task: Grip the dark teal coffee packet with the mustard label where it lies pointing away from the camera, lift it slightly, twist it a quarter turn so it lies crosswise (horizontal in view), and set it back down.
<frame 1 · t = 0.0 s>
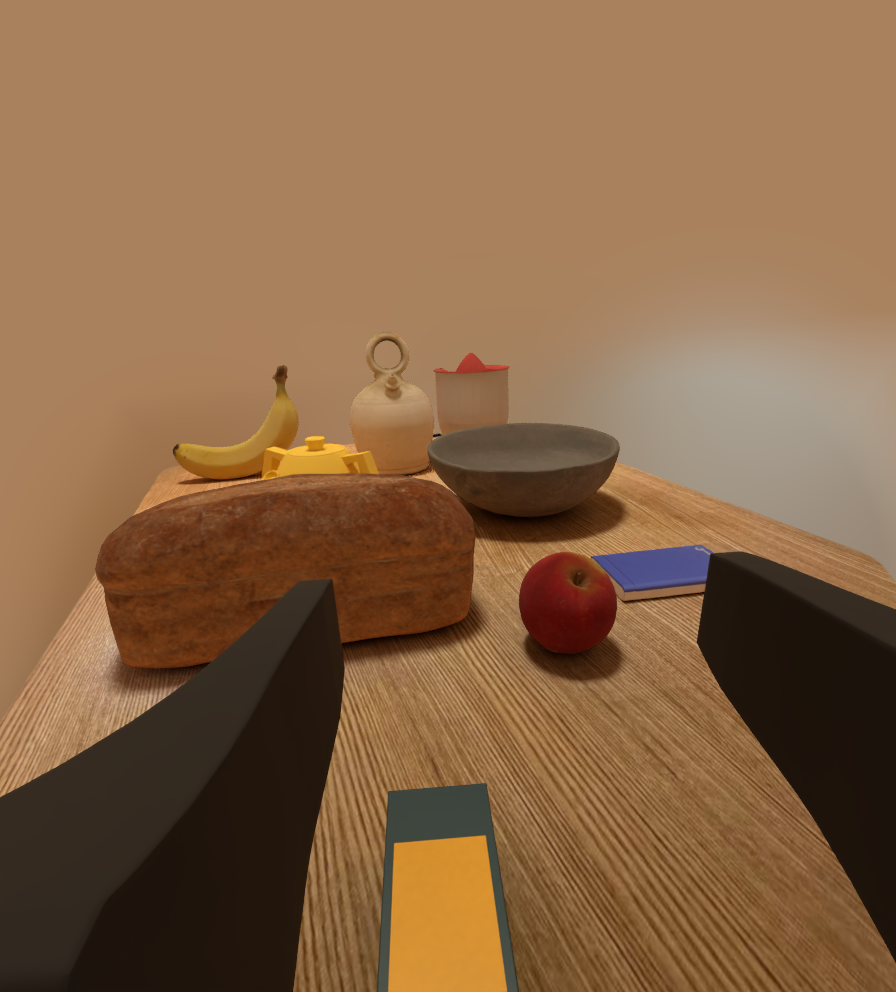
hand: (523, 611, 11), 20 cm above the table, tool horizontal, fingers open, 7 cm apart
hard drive: (664, 579, 57), on the table
bowl: (521, 509, 80), on the table
teapot: (315, 515, 82), on the table
jug: (396, 469, 106), on the table
banana: (243, 477, 105), on the table
bread: (309, 626, 51), on the table
citrus juicer: (471, 448, 121), on the table
apple: (565, 648, 46), on the table
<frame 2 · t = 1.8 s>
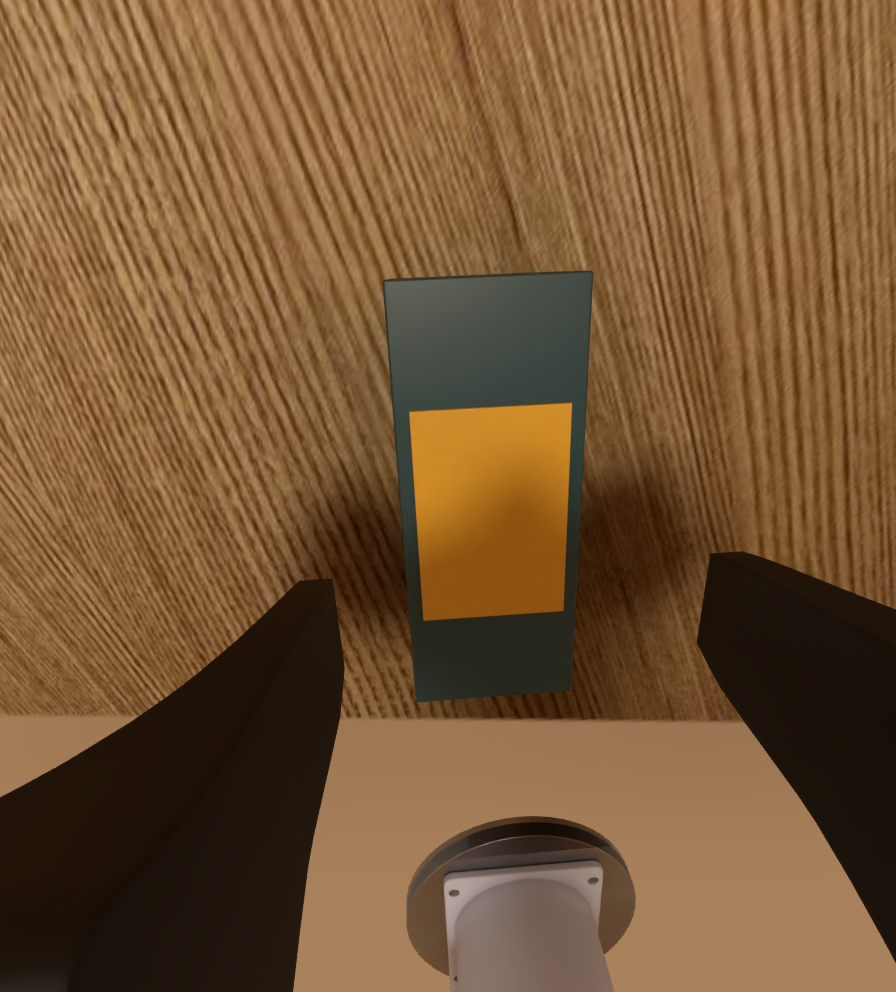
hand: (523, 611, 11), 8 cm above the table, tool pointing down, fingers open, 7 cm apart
packet: (479, 621, 21), on the table
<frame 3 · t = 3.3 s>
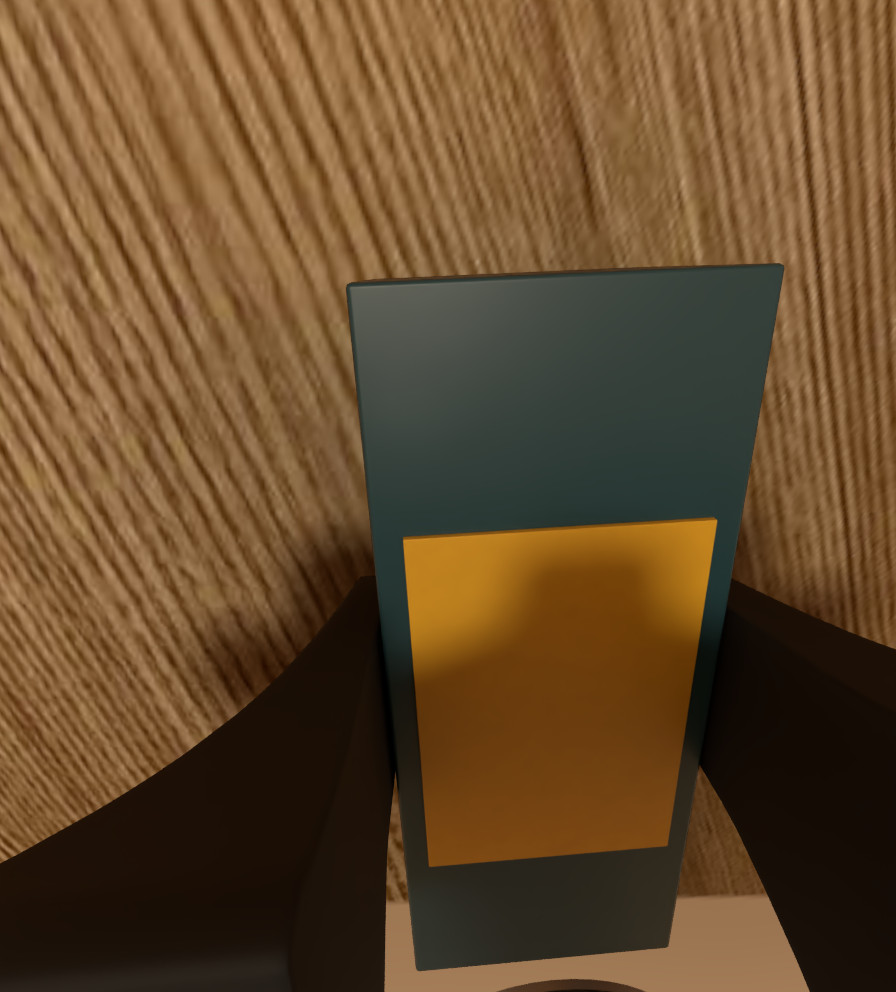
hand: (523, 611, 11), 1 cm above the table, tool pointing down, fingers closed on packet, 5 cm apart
packet: (509, 780, 14), on the table, touching gripper
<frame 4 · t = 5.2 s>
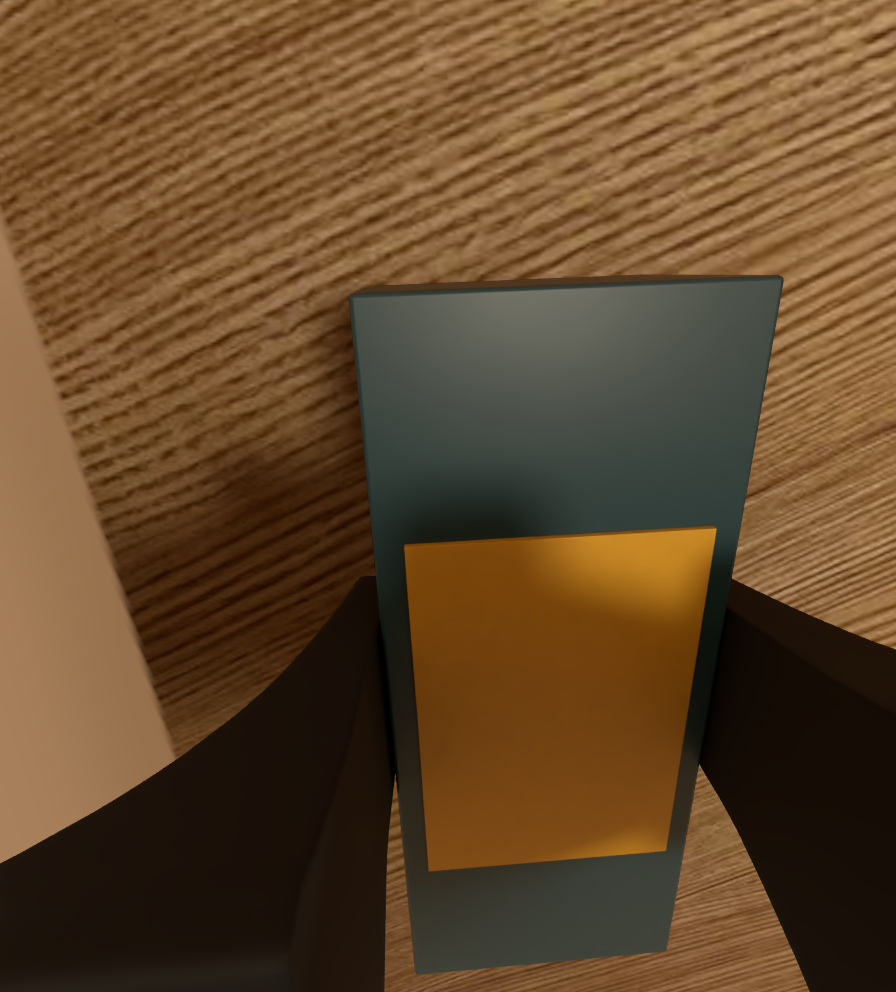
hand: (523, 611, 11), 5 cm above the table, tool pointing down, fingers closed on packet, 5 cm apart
packet: (508, 784, 14), point 4 cm above the table, touching gripper
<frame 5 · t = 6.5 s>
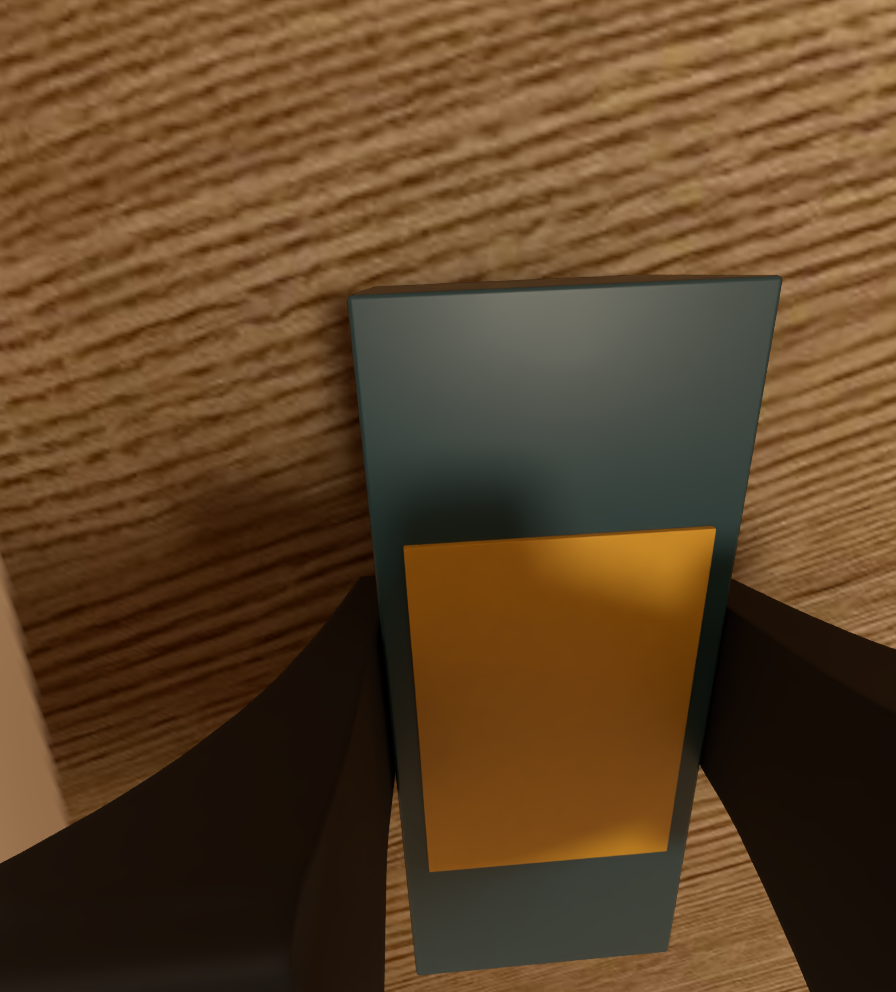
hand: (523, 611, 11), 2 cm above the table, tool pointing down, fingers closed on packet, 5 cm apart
packet: (509, 784, 14), on the table, touching gripper
when the fingers open (1 cm above the table, at t = 7.1 s): packet stays where it is, on the table.
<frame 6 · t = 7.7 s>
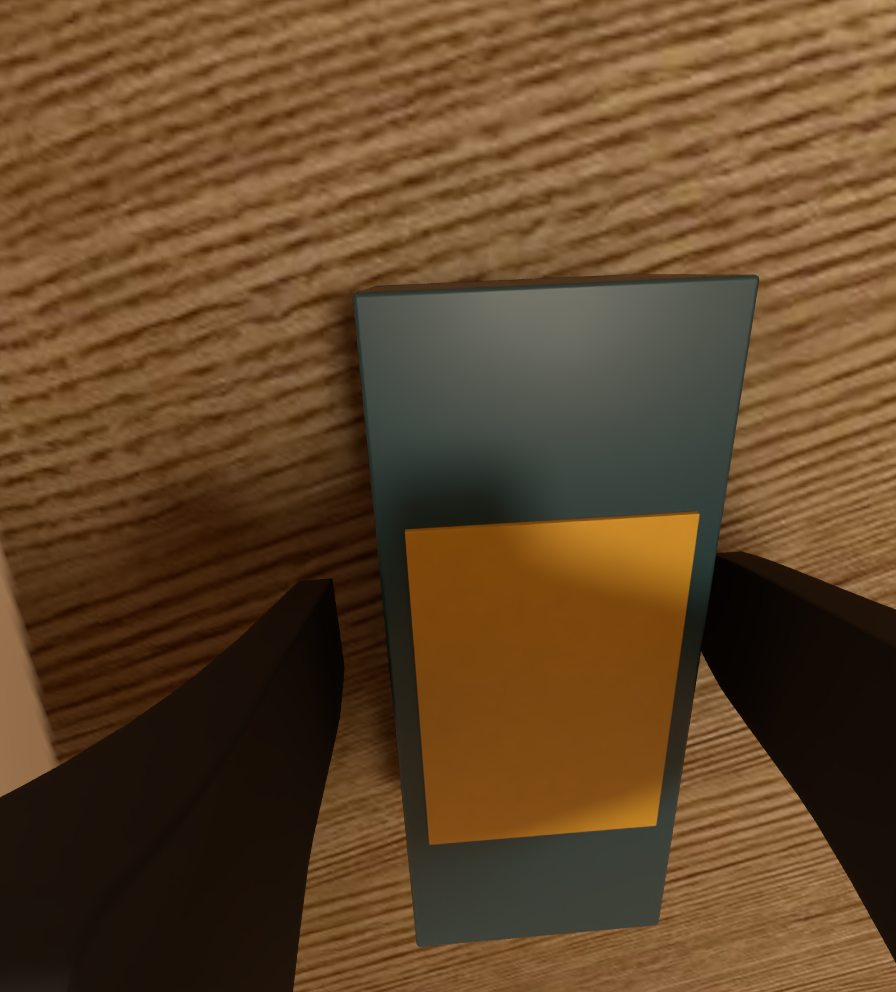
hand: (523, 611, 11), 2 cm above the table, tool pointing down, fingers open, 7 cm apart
packet: (507, 769, 15), on the table
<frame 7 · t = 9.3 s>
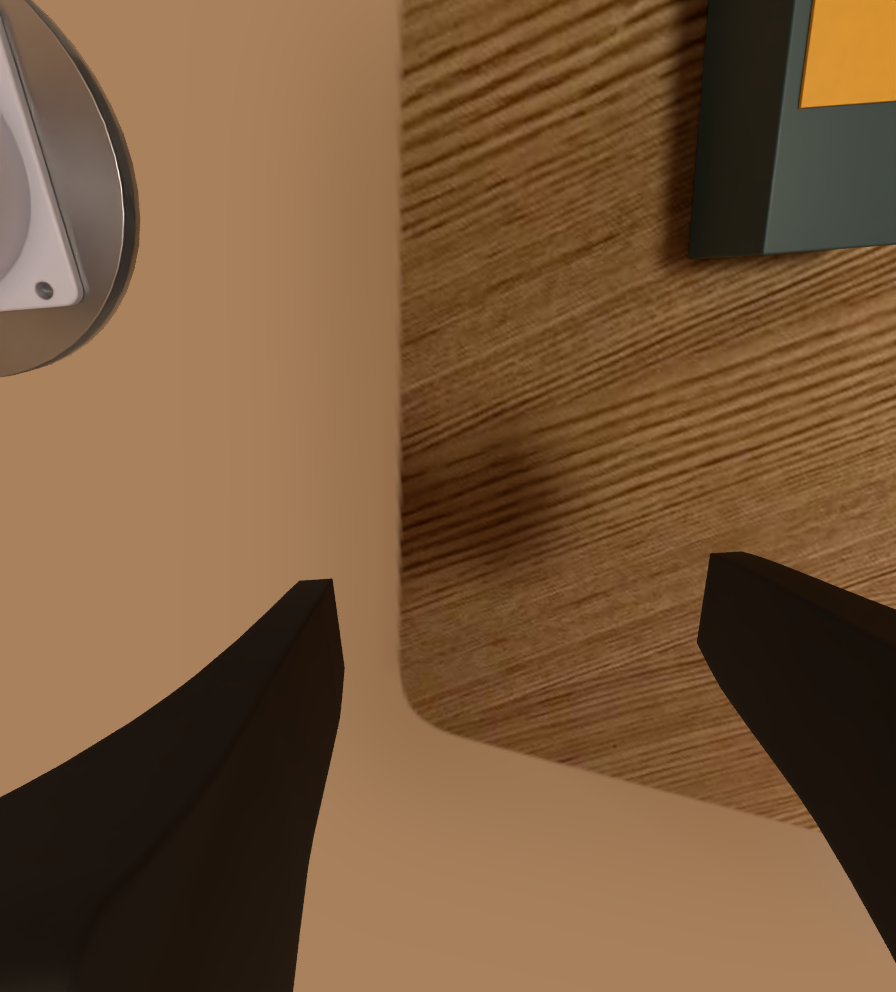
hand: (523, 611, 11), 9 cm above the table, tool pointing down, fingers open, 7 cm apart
packet: (762, 253, 17), on the table
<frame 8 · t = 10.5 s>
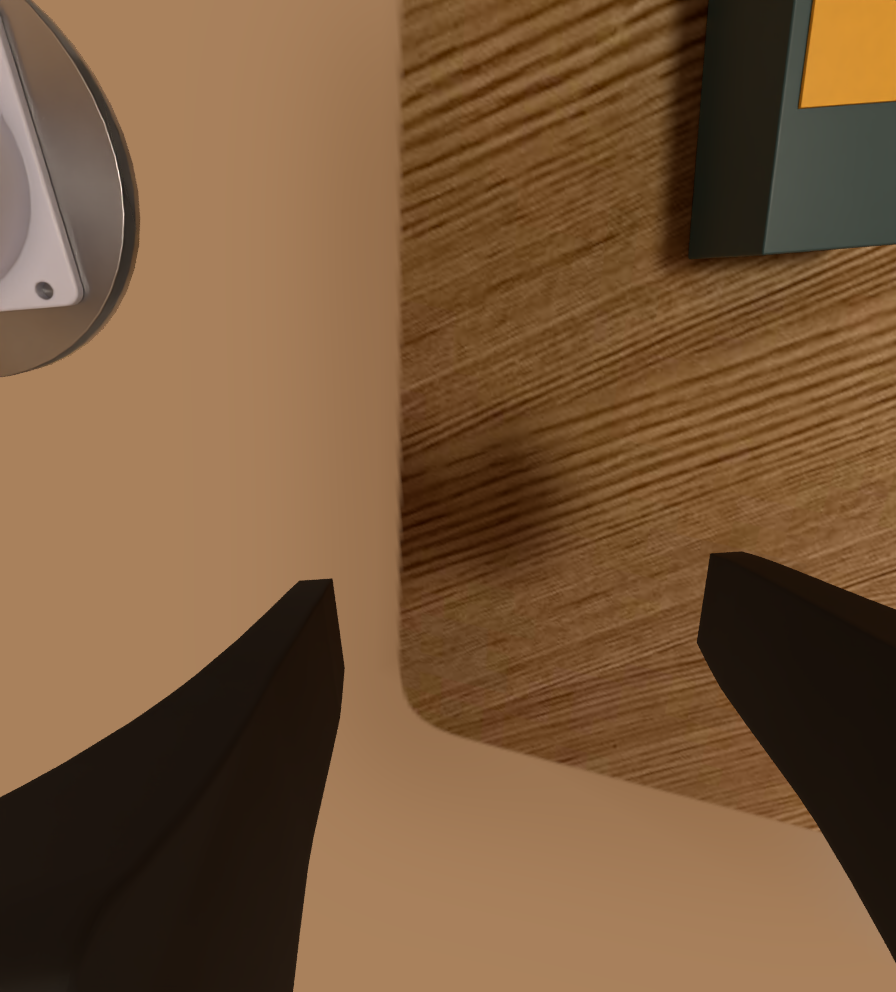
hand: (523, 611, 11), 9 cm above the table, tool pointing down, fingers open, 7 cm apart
packet: (762, 253, 17), on the table
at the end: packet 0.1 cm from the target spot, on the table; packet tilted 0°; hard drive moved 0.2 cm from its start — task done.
